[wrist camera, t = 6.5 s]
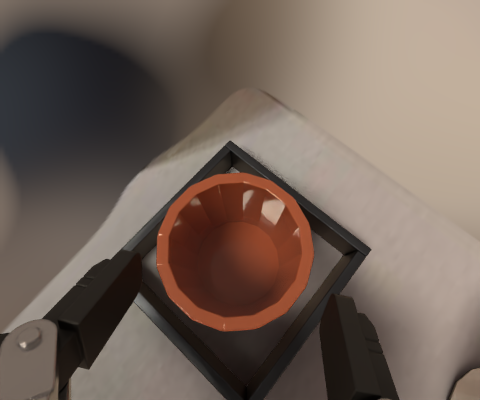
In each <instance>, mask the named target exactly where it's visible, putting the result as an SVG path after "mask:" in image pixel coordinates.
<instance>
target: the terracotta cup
mask: <svg viewBox="0 0 480 400" xmlns="http://www.w3.org/2000/svg"><path fill="white" fill-rule="evenodd" d="M313 259H314V248H313V242H312V235H311V229H310V225H309V222H308V220H307V219H306V217H305V215H304V214H303V212H302V210H301V209H300V207H299V205H298V204H297V202H296V200H295V199H294V198H293V197H292V196H291V195H289V194H288V193H287V192H285V191H284V190H283V189H282V188H280V187H279V186H278V185H276V184H275V183H274V182H272V181H271V180H267V179H264V178H261V177H258V176H254V175H251V174H248V173H229V174H217V175H214V176H212V177H209V178H207V179H205V180H203V181H201V182H198V183H196V184H194V185H192V186H191V187H189V188H188V189H187V190H186V191H185V192H184V193H183V194H182V195H181V196H180V197H179V198H178V199H177V200H176V201H175V202H174V203H173V204H172V205H171V206H170V208H169V209H168V211H167V214H166V216H165V218H164V221H163V223H162V225H161V227H160V230H159V232H158V236H157V259H156V265H157V269H158V272H159V274H160V277H161V280H162V282H163V285H164V287H165V290H166V293H167V295H168V296H169V298H170V299H171V300H172V301H173V302H174V303H175V304H176V305H177V306H178V307H179V308H180V309H181V310H182V311H183V312H184V313H185V314H186V315H187V316H188V317H189V318H190V319H192V320H193V321H196V322H198V323H201V324H204V325H206V326H209V327H211V328H214V329H217V330H219V331H224V332H227V331H241V330H254V329H256V328H257V329H258V328H260V327H262V326H264V325H266V324H267V323H269V322H271V321H273V320H275V319H277V318H278V317H280V316H282V315H284V314H285V313H286V312H288V311H289V309H290V308H291V307H292V305H293V304H294V303H295V301H296V300H297V299H298V297H299V296H300V295H301V293H302V292H303V291H304V289H305V288H306V286H307V283H308V279H309V275H310V271H311V267H312V263H313Z"/></svg>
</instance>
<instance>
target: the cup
mask: <svg viewBox="0 0 480 400" xmlns="http://www.w3.org/2000/svg"><path fill="white" fill-rule="evenodd" d="M449 400H480V368H478V369H473V370H470V371H469V372H467V373H466V374H465V375H464V376H463V377H461V378H460V379H459V380H458V381H456V383H455V385H454V388H453V390H452V393H451V395H450V398H449Z"/></svg>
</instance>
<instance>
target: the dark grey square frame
mask: <svg viewBox="0 0 480 400" xmlns="http://www.w3.org/2000/svg"><path fill="white" fill-rule="evenodd" d="M231 166H233V167H234V168H235V169H237V170H238V171H239V172H240V173H248V174H251V175H254V176H258V177H261V178H264V179H267V180H271V181H272V182H274V183H275V184H276V185H278V186H279V187H280V188H282V189H283V190H284V191H285V192H287V193H288V194H289V195H291V196H292V197H293V198H294V199H295V200H296V202H297V204H298V205H299V207H300V209H301V210H302V212H303V214H304V215H305V217H306V219H307V220H308V222H309V225H310V228H311V229H312V230H313V231H315V232H316V233H317V234H318V235H320V236H321V237H322V238H323V239H325V240H326V241H327V242H328V243H330V244H331V245H332V246H333V247H335V248H336V249H337V250H338V251H340V252H341V253H342V254H343V255H344V256H343V257H342V258H341V259H340V261H339V262H338V263H337V265H336V266H335V268H334V269H333V270H332V272H331V273H330V274H329V276H328V277H327V278H326V280H325V281H324V282H323V284H322V285H321V286H320V288H319V289H318V290H317V292H316V293H315V294H314V296H313V297H312V298H311V300H310V301H309V302H308V304H307V305H306V306H305V308H304V309H303V311H302V312H301V313H300V315H299V316H298V317H297V319H296V320H295V321H294V323H293V324H292V325H291V327H290V328H289V329H288V331H287V332H286V333H285V335H284V336H283V337H282V339H281V340H280V341H279V343H278V344H277V345H276V347H275V348H274V349H273V351H272V352H271V354H270V355H269V356H268V358H267V359H266V360H265V362H264V363H263V364H262V366H261V367H260V368H259V370H258V371H257V372H256V374H255V375H254V376H253V378H252V379H251V380H250V382H249V383H248V384H247V387H246V386H245V385H244V384H243V383H242V382H241V381H240V380H239V379H238V378H237V377H236V376H235V375H234V373H233V372H232V371H231V370H230V369H229V368H228V367H227V366H226V365H225V364H224V363H223V362H222V361H221V360H220V359H219V358H218V357H217V356H216V355H215V354H214V353H213V352H212V351H211V350H210V349H209V348H208V347H207V346H206V345H205V344H204V343H203V342H202V341H201V340H200V339H199V338H198V337H197V336H196V335H195V334H194V333H193V332H192V331H191V330H190V329H189V328H188V327H187V326H186V325H185V324H184V323H183V322H182V321H181V320H180V318H179V317H178V316H177V315H176V314H175V313H174V312H173V311H172V310H171V309H170V308H169V307H168V306H167V305H166V304H165V303H164V302H163V301H162V300H161V299H160V298H159V297H158V296H157V295H156V294H155V293H154V292H153V291H152V290H151V289H150V288H149V287H148V286H147V285H146V284H145V283H144V282H143V281H142V285H141V288H140V291H139V293H138V295H137V296H136V298H135V300H134V301H133V302H134V303H135V304H136V305H137V306H138V307H139V308H140V309H141V310H142V311H143V312H144V313H145V314H146V315H147V316H148V317H149V318H150V319H151V321H152V322H153V323H154V324H155V325H156V326H157V327H158V328H159V329H160V330H161V331H162V332H163V333H164V334H165V335H166V336H167V337H168V338H169V340H170V341H171V342H172V343H173V344H174V345H175V346H176V347H177V348H178V349H179V350H180V351H181V352H182V353H183V354H184V355H185V356H186V357H187V358H188V360H189V361H190V362H191V363H192V364H193V365H194V366H195V367H196V368H197V369H198V370H199V371H200V372H201V373H202V374H203V375H204V376H205V377H206V379H207V380H208V381H209V382H210V383H211V384H212V385H213V386H214V387H215V388H216V389H217V390H218V391H219V392H220V393H221V394H222V395H223V396H224V398H225V399H226V400H264V399H265V397H266V396H267V394H268V393H269V392H270V390H271V389H272V387H273V386H274V385H275V383H276V382H277V380H278V379H279V378H280V376H281V375H282V373H283V372H284V371H285V369H286V368H287V366H288V365H289V364H290V362H291V361H292V360H293V358H294V357H295V355H296V354H297V353H298V351H299V350H300V348H301V347H302V346H303V344H304V343H305V341H306V340H307V339H308V337H309V336H310V334H311V333H312V332H313V330H314V329H315V327H316V326H317V325H318V323H319V322H320V320H321V318H322V315H323V313H324V310H325V307H326V305H327V302H328V300H329V297H330V295H331V294H332V293H333V294H338V295H339V294H340V293H341V291H342V290H343V288H344V287H345V286H346V284H347V283H348V281H349V280H350V279H351V277H352V276H353V275H354V273H355V272H356V270H357V269H358V268H359V266H360V265H361V263H362V262H363V261H364V259H365V258H366V256H367V255H368V254H369V252H370V251H371V249H370V248H369V247H368V246H366V245H365V244H364V243H363V242H361V241H360V240H359V239H357V238H356V237H355V236H354V235H352V234H351V233H350V232H348V231H347V230H346V229H344V228H343V227H342V226H341V225H339V224H338V223H337V222H335V221H334V220H333V219H331V218H330V217H329V216H328V215H326V214H325V213H324V212H322V211H321V210H320V209H318V208H317V207H316V206H315V205H313V204H312V203H311V202H309V201H308V200H307V199H306V198H304V197H303V196H302V195H300V194H299V193H298V192H296V191H295V190H294V189H293V188H291V187H290V186H289V185H287V184H286V183H285V182H283V181H282V180H281V179H280V178H278V177H277V176H276V175H274V174H273V173H272V172H270V171H269V170H268V169H267V168H265V167H264V166H263V165H261V164H260V163H259V162H258V161H256V160H255V159H254V158H252V157H251V156H250V155H248V154H247V153H246V152H245V151H243V150H242V149H241V148H239V147H238V146H237V145H235V144H234V143H233V142H232V141H229V142H228V143H227V144H226V145H225V146H224V147H223V148H222V149H221V150H220V151H219V152H218V153H217V154H216V155H215V156H214V157H213V158H212V159H211V160H210V161H209V162H208V163H207V164H206V165H205V166H204V167H203V168H202V169H201V170H200V171H199V172H198V173H197V174H196V175H195V176H194V177H193V178H192V179H191V180H190V181H189V182H188V183H187V184H186V185H185V186H184V187H183V188H182V189H181V190H180V191H179V192H178V193H177V194H176V195H175V196H174V197H173V198H172V199H171V200H170V201H169V202H168V203H167V204H166V205H165V206H164V207H163V208H162V209H161V210H160V211H159V212H158V213H157V214H156V215H155V216H154V217H153V218H152V219H151V220H150V221H149V222H148V223H147V224H146V225H145V226H144V227H143V228H142V229H141V230H140V231H139V232H138V233H137V234H136V235H135V236H134V237H133V238H132V239H131V240H130V241H129V242H128V243H127V244H126V245H125V246H124V247H123V248H122V249H123V250H128V251H133V252H138V253H140V254H141V259H142V258H143V257H144V256H145V255H146V254H147V253H148V252H149V251H150V250H151V249H152V248H153V247H154V246H155V245H156V244H157V236H158V232H159V230H160V227H161V225H162V223H163V221H164V218H165V216H166V214H167V211H168V209H169V208H170V206H171V205H172V204H173V203H174V202H175V201H176V200H177V199H178V198H179V197H180V196H181V195H182V194H183V193H184V192H185V191H186V190H187V189H188V188H189V187H191V186H192V185H194V184H196V183H198V182H201V181H203V180H205V179H207V178H209V177H212V176H214V175H217V174H224V173H225V172H226V171H227V170H228V169H229V168H230V167H231ZM122 249H121V250H122Z"/></svg>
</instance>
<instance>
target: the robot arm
mask: <svg viewBox="0 0 480 400" xmlns="http://www.w3.org/2000/svg"><path fill="white" fill-rule="evenodd" d="M141 285H142V264H141V254H140V253H138V252H133V251H128V250H123V249H122V250H120V251H119V252H118V253H117V254H116V255H115V256H114V257H113V258H112V259H111V260H109V259H105V260H103V261H101V262H100V263H98V264H96V265H94V266H93V267H92V268H91V269H90V270H89V271H88V272H87V273H86V274H85V275H84V277H83V278H81V279H80V280H79V281H78V282H77V283H76V286H73V287H72V288H71V290H70V291H69V292H68V293H67V294H66V295H65V296H64V297H63V298H62V299H61V300H60V301H59V302H58V303H57V304H56V305H55V306H54V307H53V308H52V309H51V310H50V311H49V312H48V313H47V314H46V315H45V316H44V317H43V318H42V319H39V320H33V321H30V322H27V323H25V324H23V325H21V326H19V327H17V328H16V329H14V330H13V331H12V332H11V333H6V334H0V400H71V376H72V375H73V373H74V372H75V370H76V369H77V367H80V368H84V369H88V370H89V369H90V367H91V366H92V364H93V363H94V361H95V359H96V358H97V356H98V355H99V353H100V352H101V350H102V349H103V347H104V346H105V344H106V343H107V341H108V340H109V338H110V336H111V335H112V333H113V332H114V330H115V329H116V327H117V326H118V324H119V323H120V321H121V320H122V318H123V316H124V315H125V313H126V312H127V310H128V309H129V307H130V306H131V304H132V303H133V301H134V300H135V298H136V296H137V295H138V293H139V291H140V288H141ZM319 334H320V342H321V350H322V358H323V365H324V373H325V381H326V388H327V396H328V400H399V397H398V394H397V391H396V388H395V385H394V382H393V379H392V377H391V374H390V371H389V368H388V365H387V362H386V359H385V356H384V355H383V351H382V348H381V345H380V343H379V339H378V336H377V333H376V330H375V328H374V326H373V324H372V323H371V322H370V320H369V319H368V318H367V316H366V315H365V314H362V313H357V310H356V307H355V303H354V300H353V298H352V297H348V296H343V295H338V294H333V293H332V294H331V295H330V297H329V300H328V302H327V305H326V307H325V310H324V313H323V315H322V318H321V321H320V328H319Z"/></svg>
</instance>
